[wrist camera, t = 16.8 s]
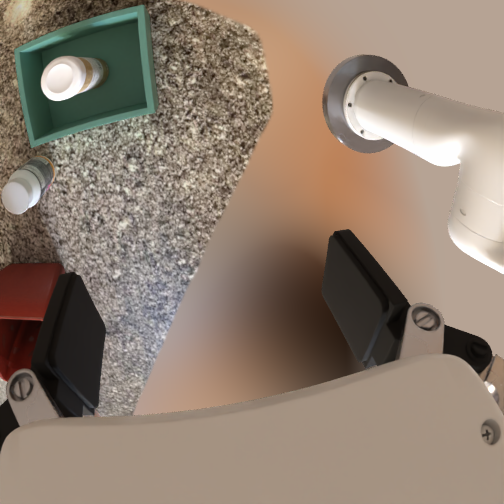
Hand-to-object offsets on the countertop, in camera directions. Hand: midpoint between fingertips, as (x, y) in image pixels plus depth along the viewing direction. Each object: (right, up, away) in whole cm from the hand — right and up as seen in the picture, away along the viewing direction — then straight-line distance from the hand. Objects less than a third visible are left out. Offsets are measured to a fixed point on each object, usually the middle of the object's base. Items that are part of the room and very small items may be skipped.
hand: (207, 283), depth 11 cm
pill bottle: (-31, +14, +25) cm, 42 cm away
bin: (-20, +25, +20) cm, 38 cm away
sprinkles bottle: (-19, +25, +20) cm, 37 cm away
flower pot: (-39, -6, +37) cm, 54 cm away
